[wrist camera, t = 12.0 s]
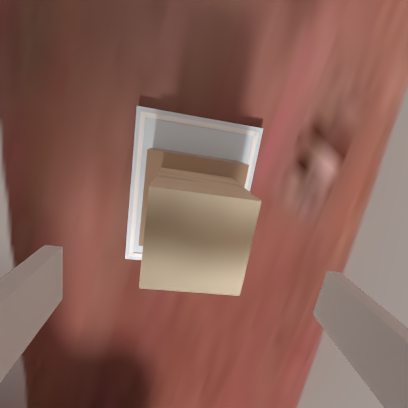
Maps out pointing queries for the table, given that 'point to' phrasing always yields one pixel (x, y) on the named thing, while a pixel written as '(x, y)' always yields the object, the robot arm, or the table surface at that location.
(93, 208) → the table surface
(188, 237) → the maple block
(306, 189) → the table surface
